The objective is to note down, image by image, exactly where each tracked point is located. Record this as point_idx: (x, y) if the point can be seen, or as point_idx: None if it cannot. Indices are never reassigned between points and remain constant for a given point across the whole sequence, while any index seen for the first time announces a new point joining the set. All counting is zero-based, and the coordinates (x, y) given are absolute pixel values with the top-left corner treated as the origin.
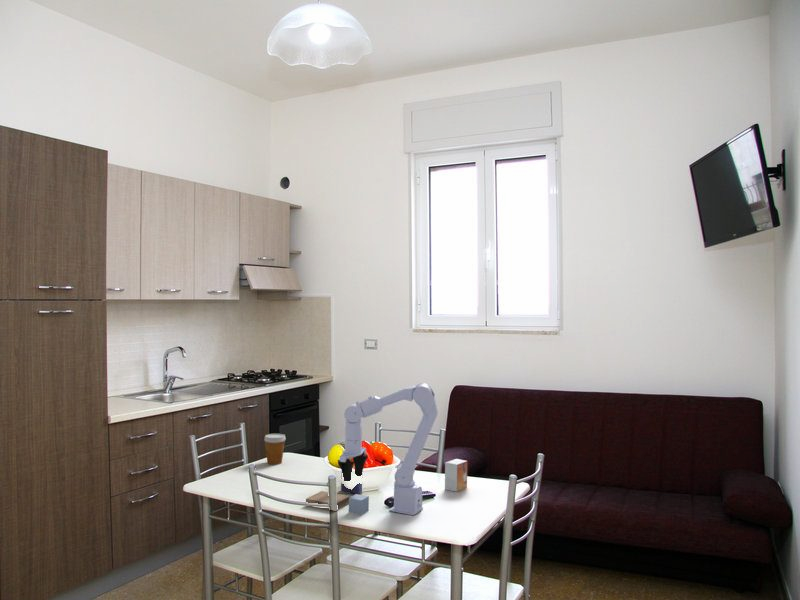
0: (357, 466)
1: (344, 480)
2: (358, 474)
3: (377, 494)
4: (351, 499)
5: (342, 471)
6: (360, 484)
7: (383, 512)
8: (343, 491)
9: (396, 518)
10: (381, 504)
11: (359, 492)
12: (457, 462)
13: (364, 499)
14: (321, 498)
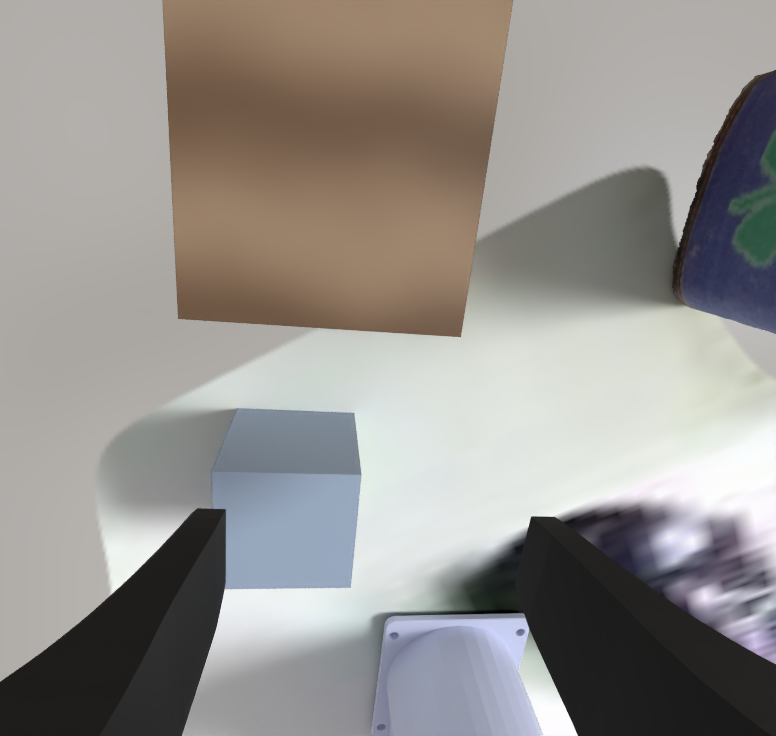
0: (602, 651)
1: (190, 517)
2: (526, 569)
3: (705, 415)
4: (214, 491)
5: (88, 625)
6: (747, 321)
7: (352, 596)
8: (728, 118)
9: (288, 688)
10: (498, 525)
11: (686, 299)
12: None
13: (269, 583)
14: (267, 84)
